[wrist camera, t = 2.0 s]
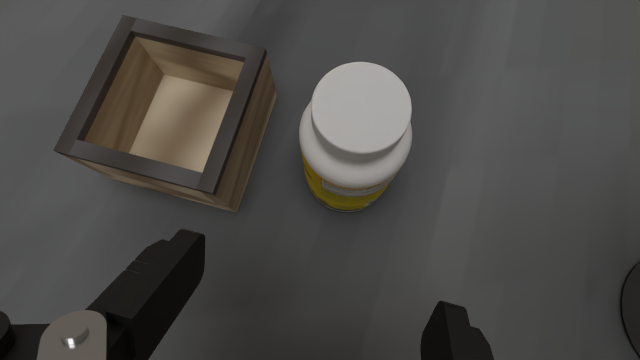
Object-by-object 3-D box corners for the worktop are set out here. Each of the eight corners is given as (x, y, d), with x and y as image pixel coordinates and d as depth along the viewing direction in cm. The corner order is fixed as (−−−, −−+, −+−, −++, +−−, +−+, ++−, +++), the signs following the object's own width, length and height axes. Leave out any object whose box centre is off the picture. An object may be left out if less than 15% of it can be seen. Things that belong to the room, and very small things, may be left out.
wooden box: (277, 96, 28) (265, 48, 23) (237, 213, 26) (212, 193, 20) (162, 68, 29) (122, 14, 23) (112, 179, 26) (53, 150, 21)
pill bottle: (313, 130, 28) (309, 36, 17) (391, 144, 27) (436, 57, 17) (297, 205, 26) (281, 154, 15) (379, 221, 26) (421, 180, 15)
